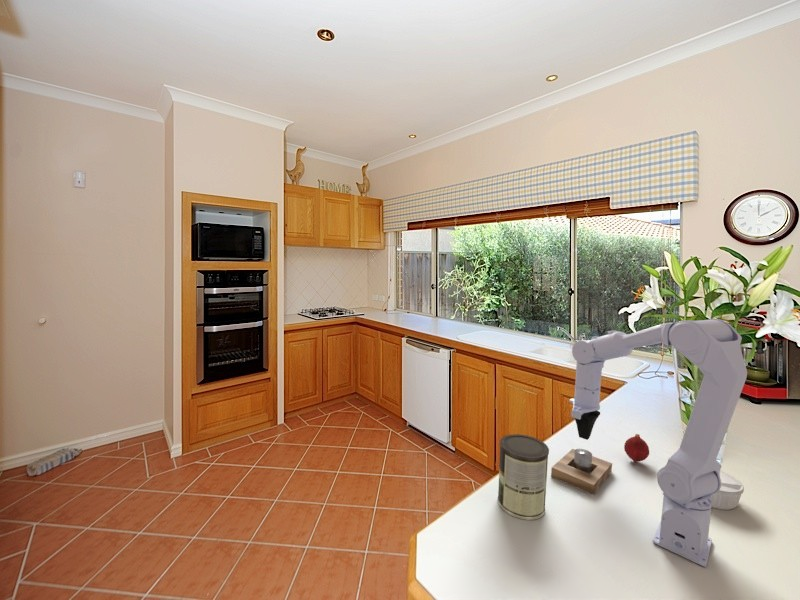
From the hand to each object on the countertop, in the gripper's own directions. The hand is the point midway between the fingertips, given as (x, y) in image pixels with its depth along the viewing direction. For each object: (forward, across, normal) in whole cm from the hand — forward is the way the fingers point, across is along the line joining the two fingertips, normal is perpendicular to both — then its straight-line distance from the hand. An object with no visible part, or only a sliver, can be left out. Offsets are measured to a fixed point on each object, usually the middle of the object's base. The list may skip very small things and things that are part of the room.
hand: (584, 437), depth 91 cm
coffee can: (+10, +23, -5) cm, 26 cm away
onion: (+10, -18, +8) cm, 22 cm away
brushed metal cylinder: (+10, 0, 0) cm, 10 cm away
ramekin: (+10, -13, +24) cm, 29 cm away
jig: (+10, 0, 0) cm, 10 cm away
